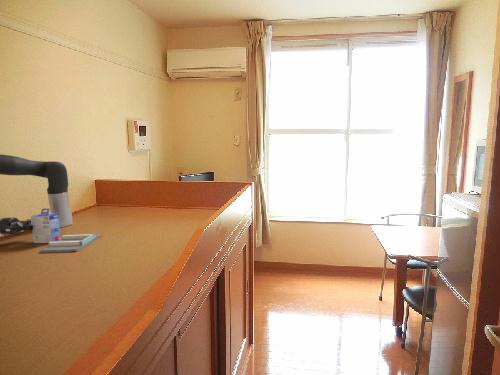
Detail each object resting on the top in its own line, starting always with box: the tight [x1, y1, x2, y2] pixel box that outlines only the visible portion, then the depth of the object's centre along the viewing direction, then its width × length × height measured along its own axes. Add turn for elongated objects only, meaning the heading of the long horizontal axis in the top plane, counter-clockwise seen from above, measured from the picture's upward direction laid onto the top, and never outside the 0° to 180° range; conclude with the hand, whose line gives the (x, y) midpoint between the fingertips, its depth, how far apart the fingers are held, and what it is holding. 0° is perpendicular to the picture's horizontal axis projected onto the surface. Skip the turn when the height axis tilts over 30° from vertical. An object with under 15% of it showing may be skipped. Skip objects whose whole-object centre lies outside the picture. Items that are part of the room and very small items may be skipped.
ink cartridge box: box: [30, 208, 62, 244], centre depth 152 cm, size 10×6×14 cm, turn 78°
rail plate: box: [39, 233, 103, 254], centre depth 147 cm, size 20×15×2 cm
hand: (39, 225), depth 152 cm, fingers open, 8 cm apart
